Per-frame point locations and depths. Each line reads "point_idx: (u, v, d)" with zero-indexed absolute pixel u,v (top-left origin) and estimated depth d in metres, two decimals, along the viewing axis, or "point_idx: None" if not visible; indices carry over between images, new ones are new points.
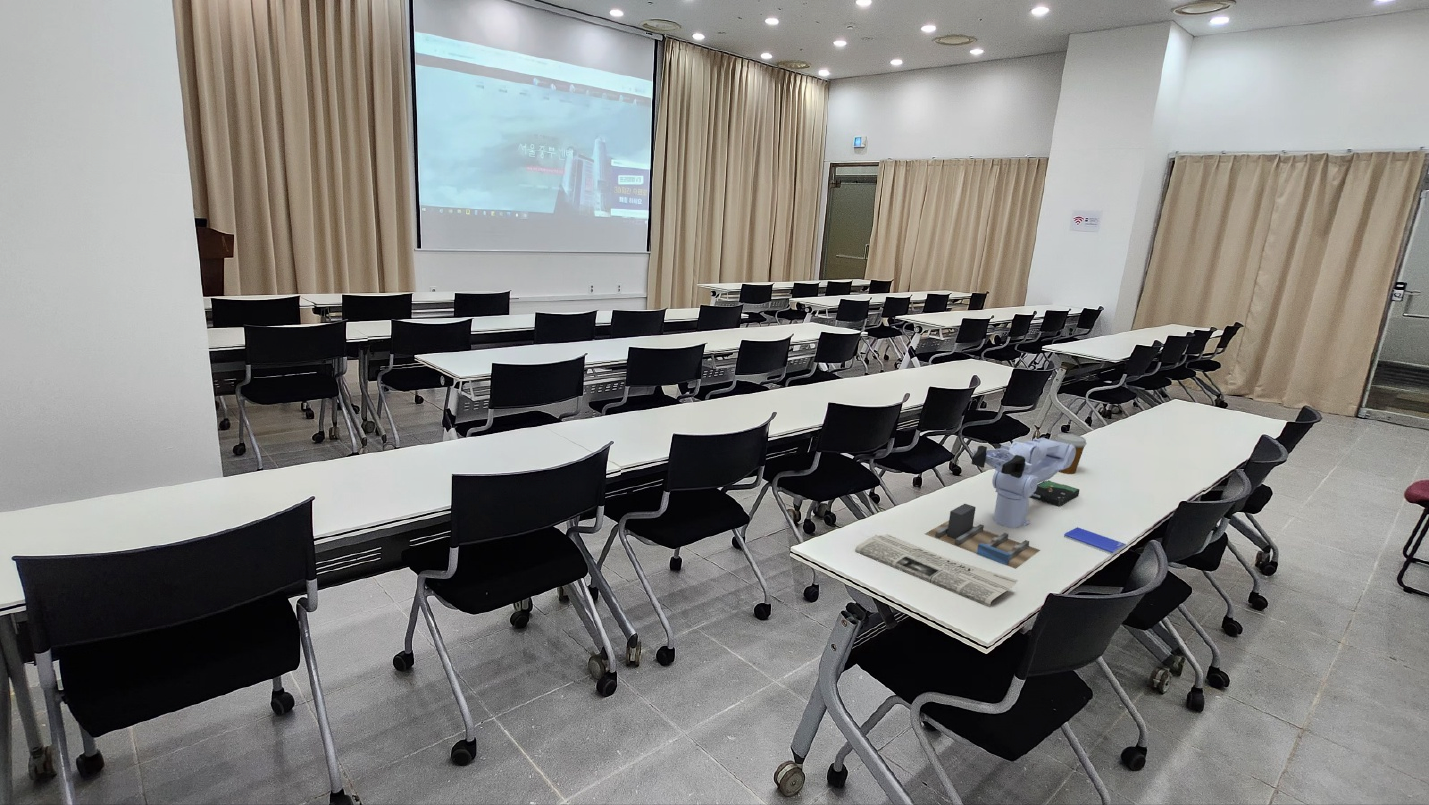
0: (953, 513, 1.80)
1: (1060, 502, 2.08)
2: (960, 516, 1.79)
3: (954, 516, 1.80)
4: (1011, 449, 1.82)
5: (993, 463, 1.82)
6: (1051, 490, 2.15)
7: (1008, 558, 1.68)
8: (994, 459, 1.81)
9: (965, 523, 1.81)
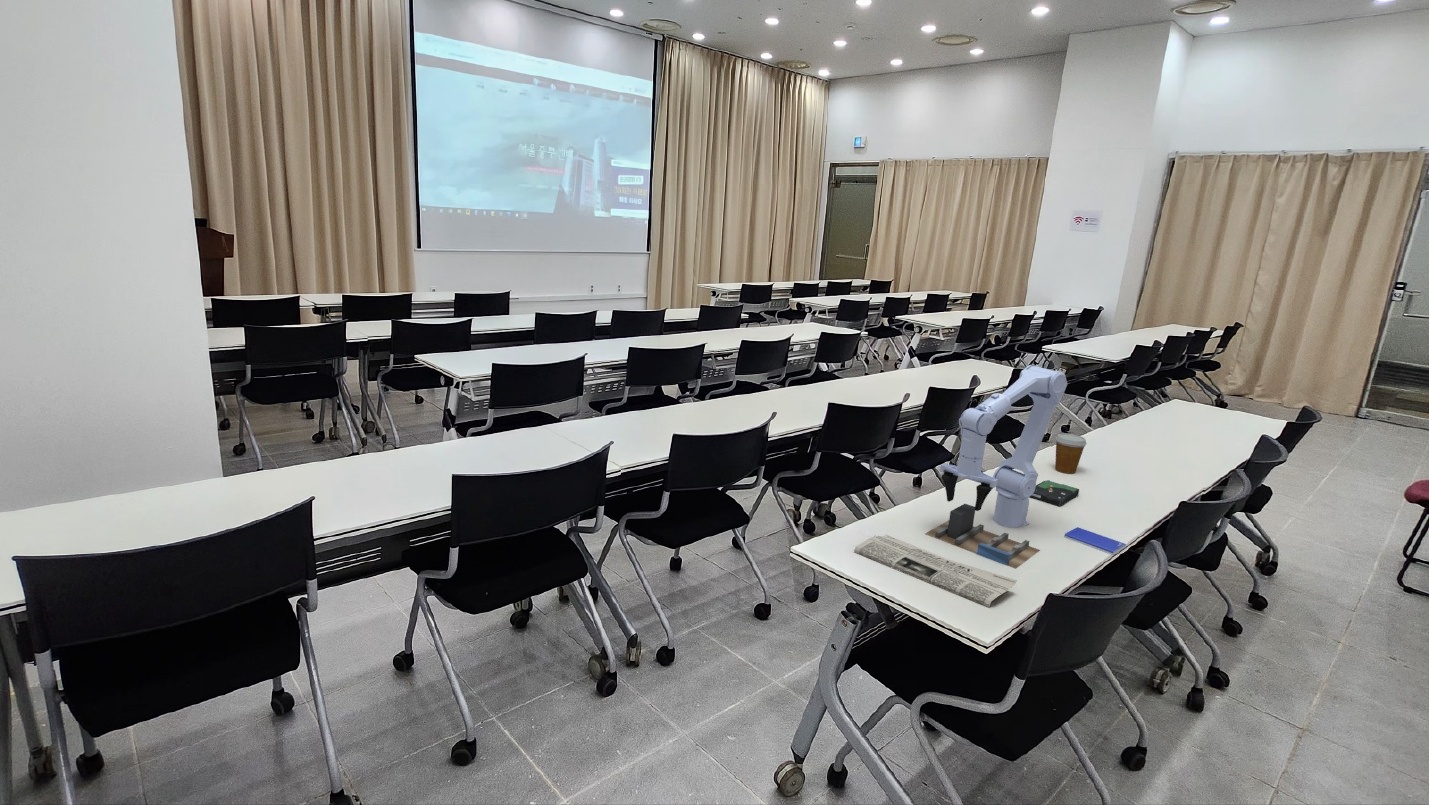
0: (953, 513, 1.80)
1: (1061, 503, 2.08)
2: (960, 516, 1.79)
3: (954, 516, 1.80)
4: (967, 465, 1.76)
5: None
6: (1051, 490, 2.15)
7: (1008, 558, 1.68)
8: None
9: (965, 523, 1.81)
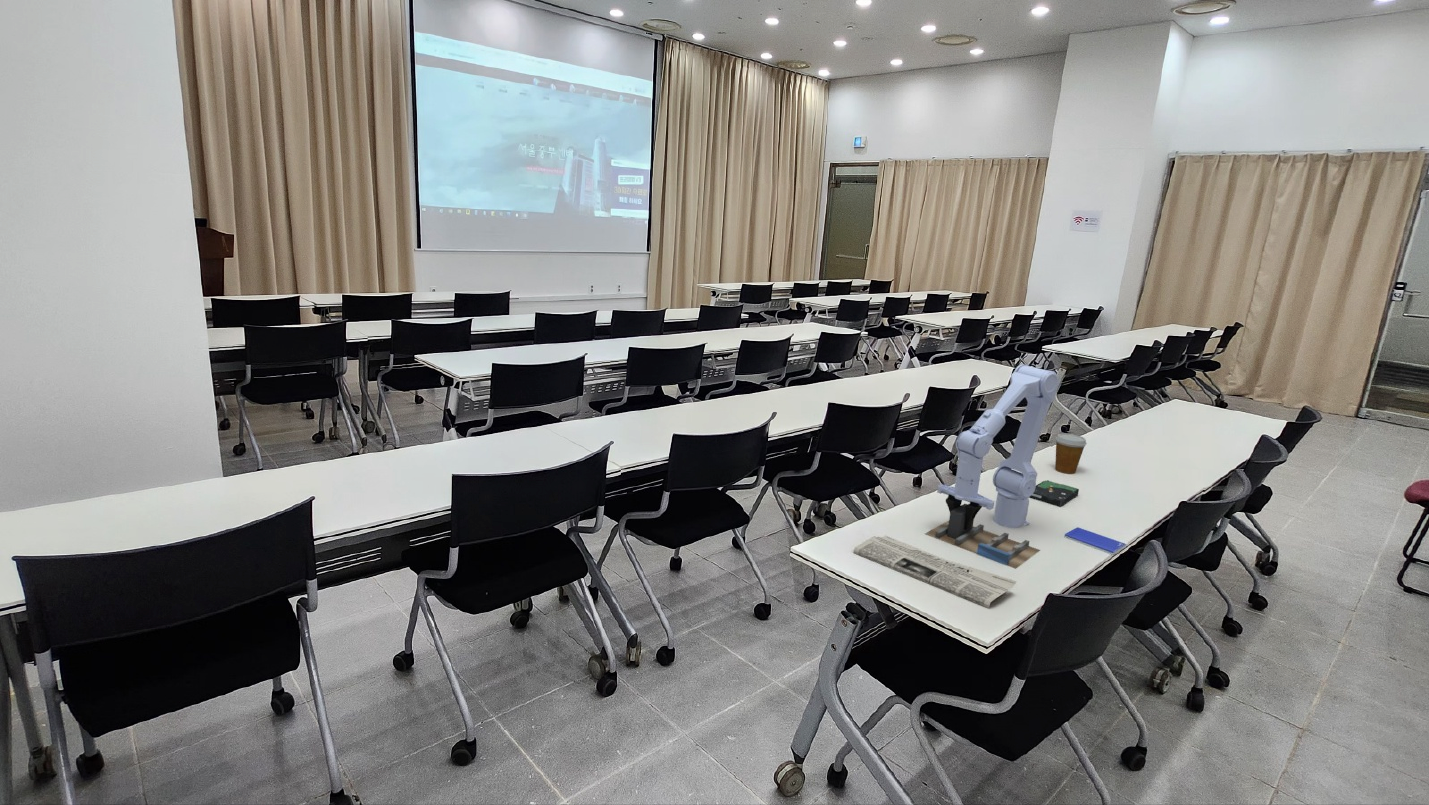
0: (953, 513, 1.80)
1: (1062, 503, 2.08)
2: (960, 516, 1.79)
3: (954, 516, 1.80)
4: (964, 487, 1.78)
5: None
6: (1052, 490, 2.15)
7: (1008, 558, 1.68)
8: None
9: None
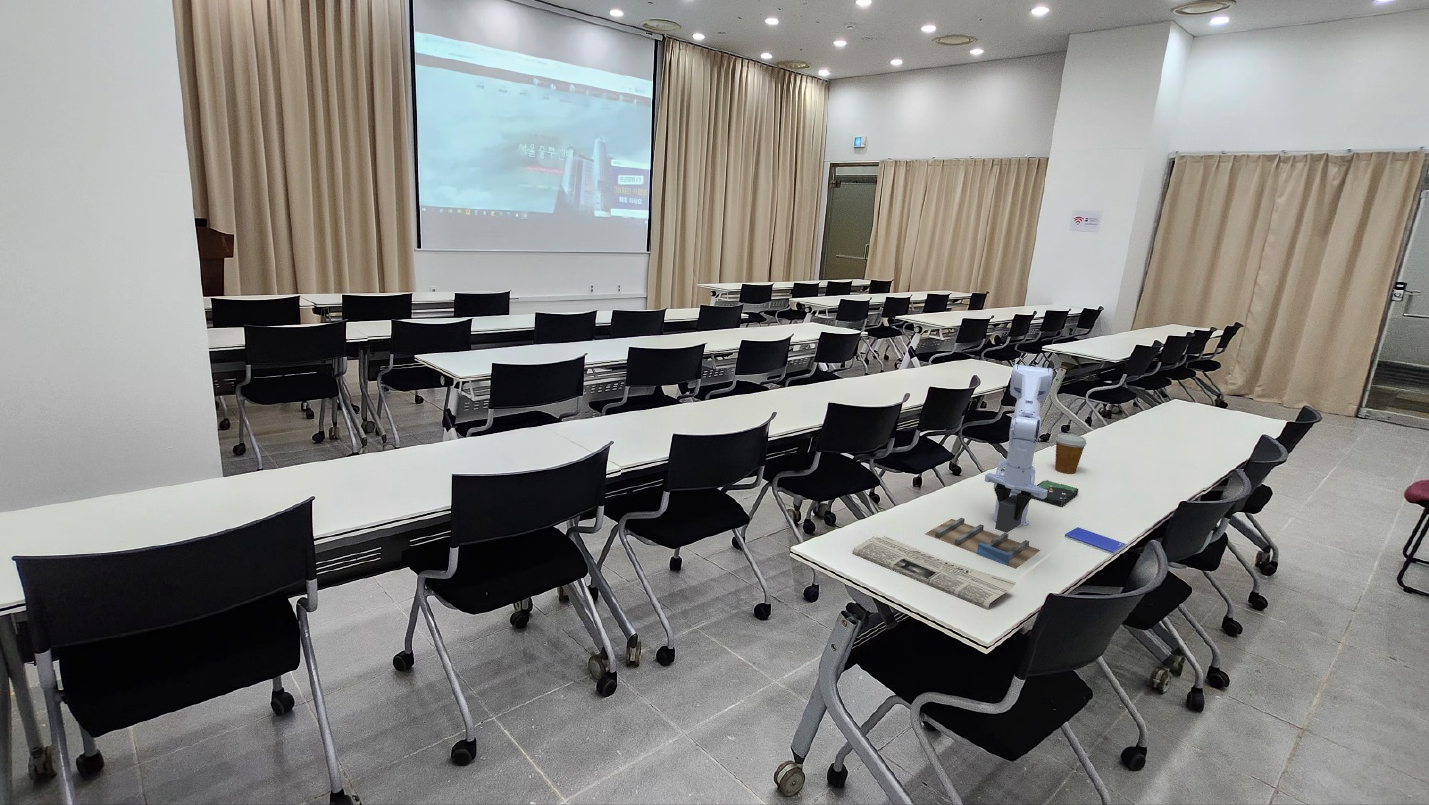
0: (1002, 504, 1.70)
1: (1063, 503, 2.08)
2: (1010, 507, 1.69)
3: (1003, 508, 1.70)
4: (1015, 475, 1.68)
5: None
6: (1052, 490, 2.15)
7: (1008, 558, 1.68)
8: None
9: None
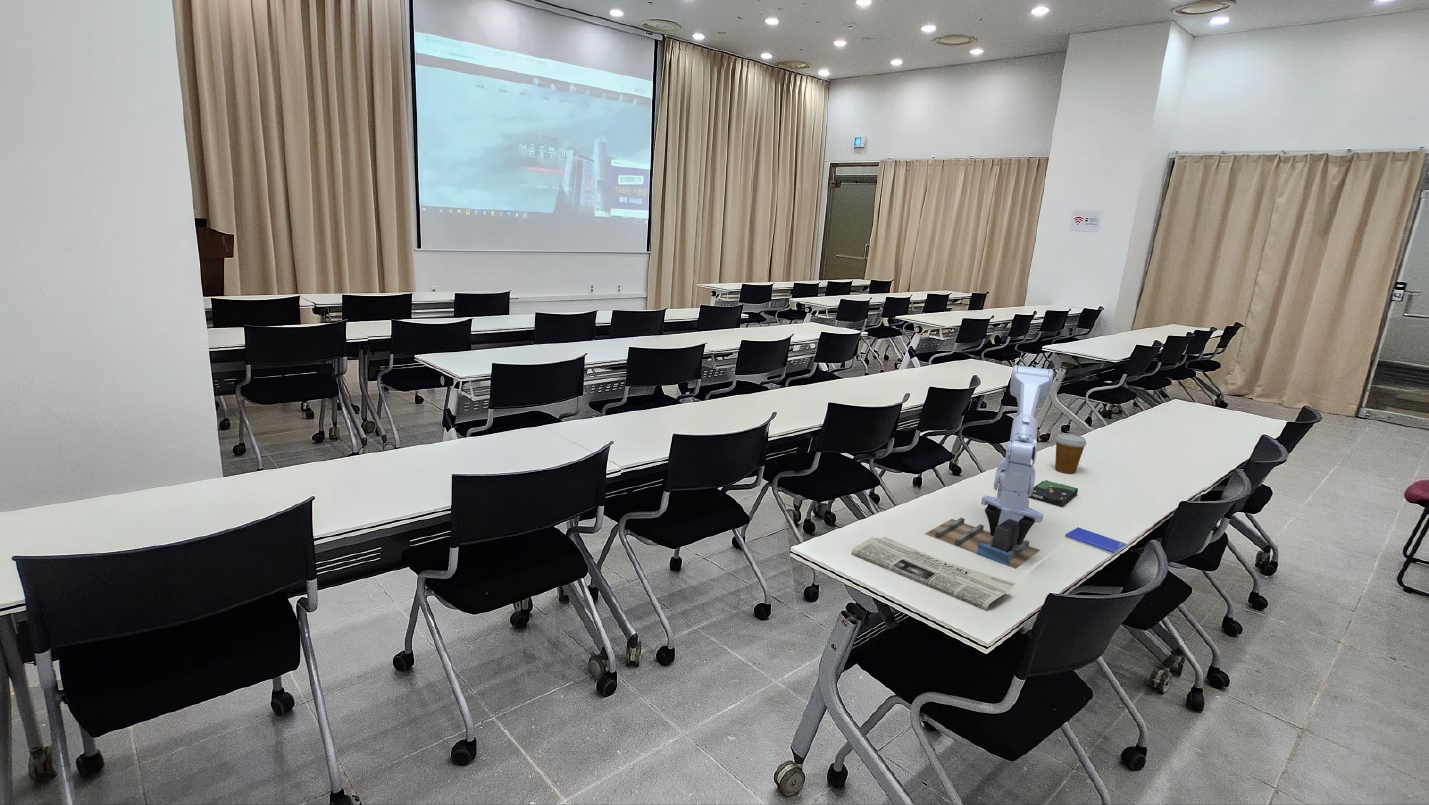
0: (998, 529, 1.72)
1: (1064, 503, 2.08)
2: (1006, 532, 1.70)
3: (999, 532, 1.71)
4: (1011, 499, 1.70)
5: None
6: (1052, 490, 2.14)
7: (1008, 558, 1.68)
8: None
9: (1011, 539, 1.73)
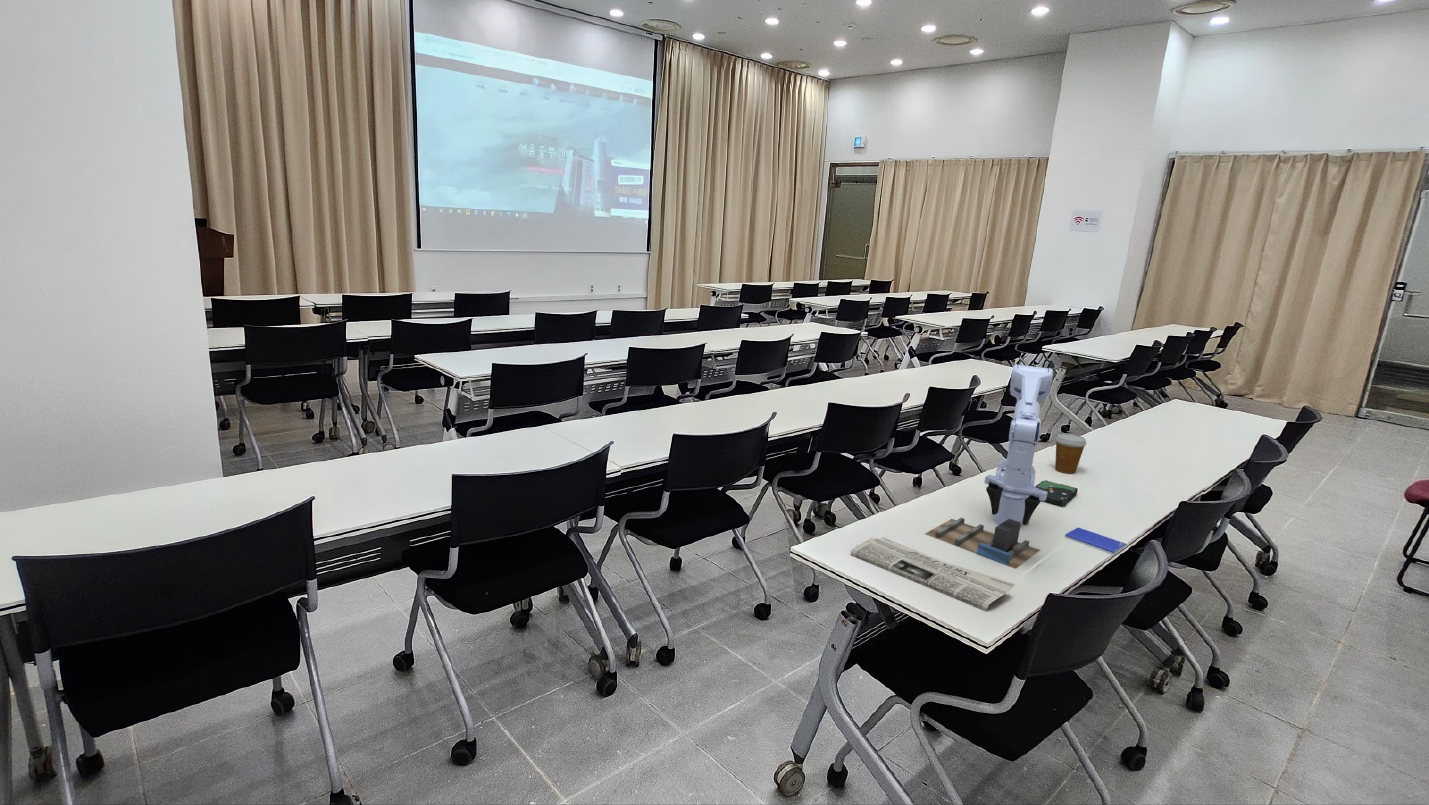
0: (998, 529, 1.72)
1: (1064, 503, 2.08)
2: (1006, 532, 1.70)
3: (999, 532, 1.71)
4: (1015, 477, 1.68)
5: None
6: (1052, 490, 2.14)
7: (1008, 558, 1.68)
8: None
9: (1011, 539, 1.73)
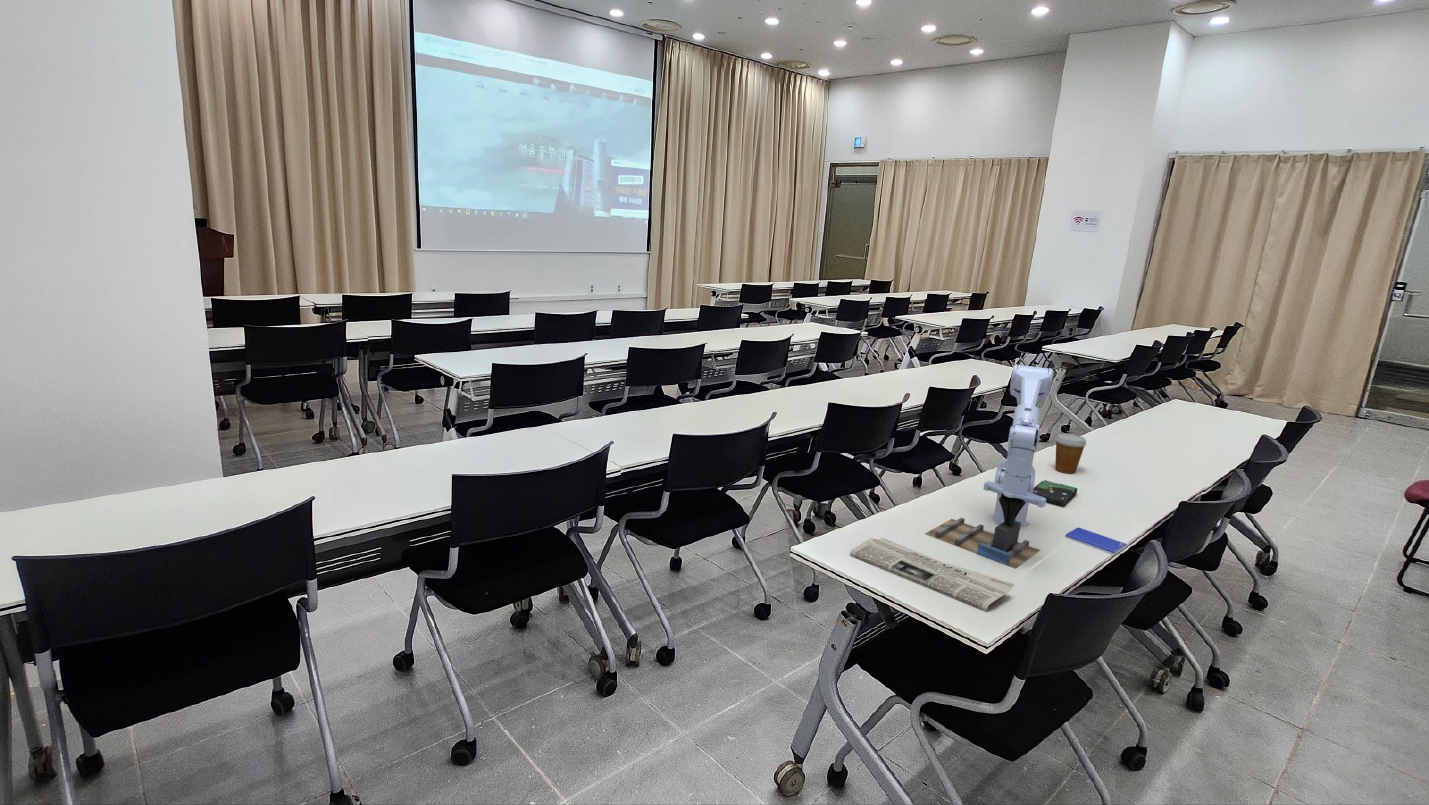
0: (998, 529, 1.72)
1: (1065, 503, 2.07)
2: (1006, 532, 1.70)
3: (999, 533, 1.71)
4: (1013, 484, 1.69)
5: None
6: (1052, 490, 2.14)
7: (1008, 558, 1.68)
8: None
9: (1011, 539, 1.73)
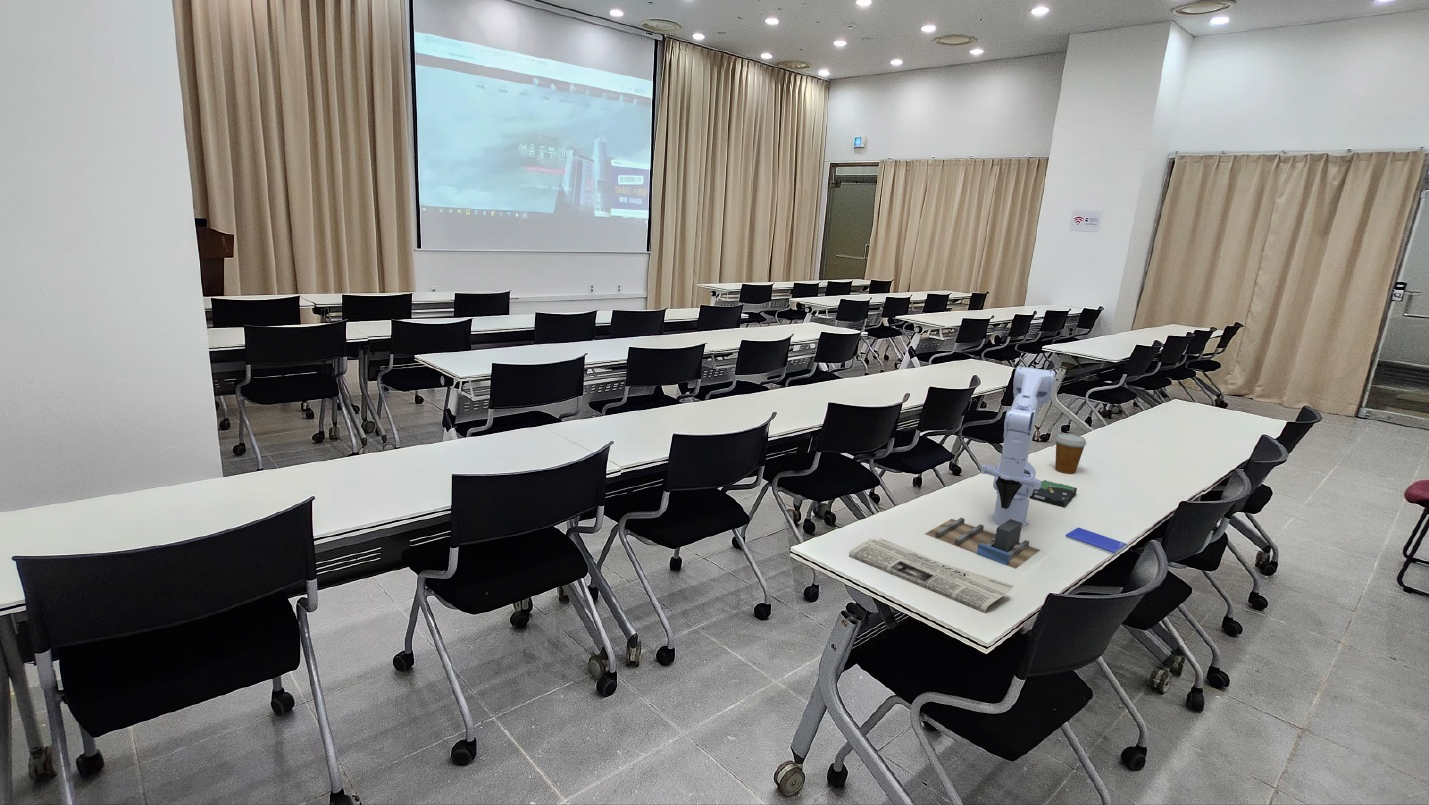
0: (1000, 530, 1.71)
1: (1066, 503, 2.07)
2: (1007, 533, 1.70)
3: (1001, 533, 1.71)
4: (1010, 466, 1.73)
5: None
6: (1052, 490, 2.14)
7: (1008, 558, 1.68)
8: None
9: (1012, 539, 1.73)
